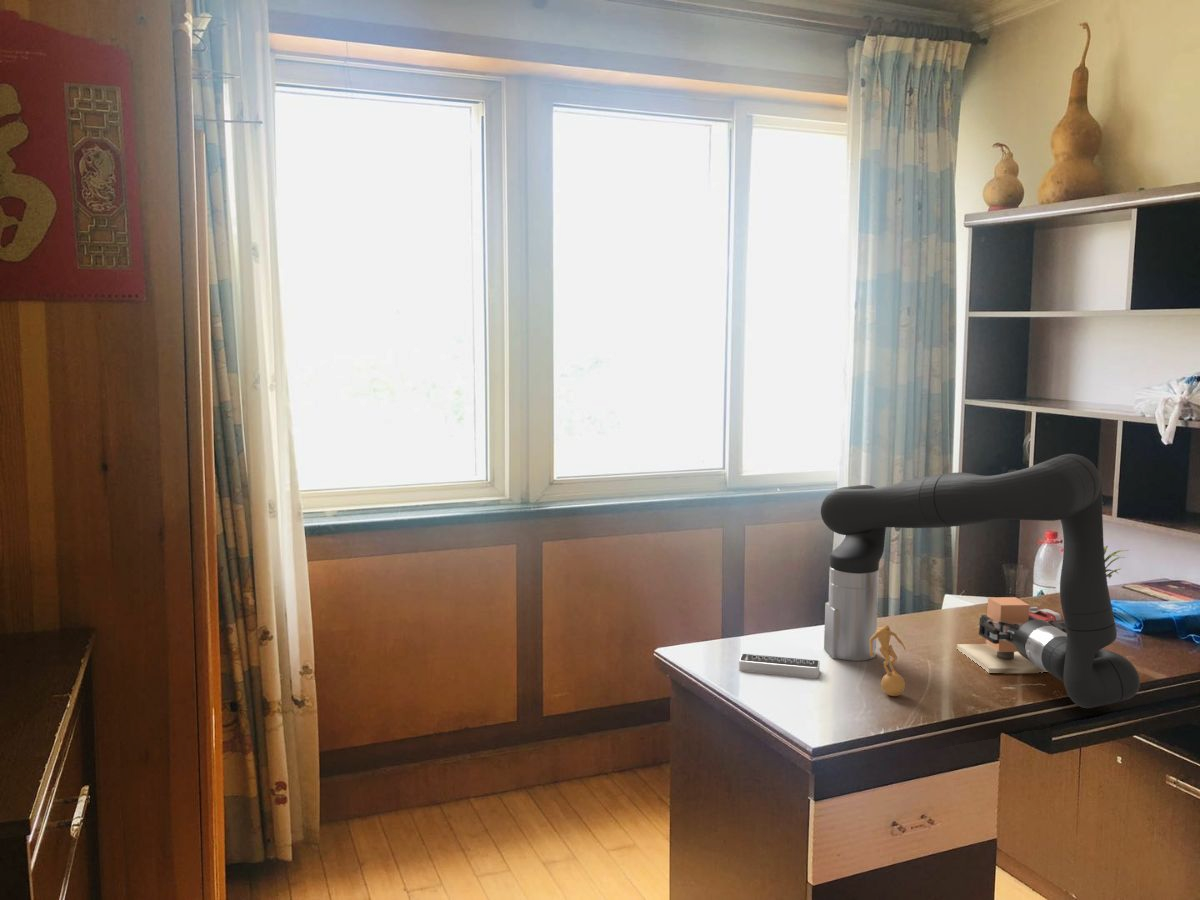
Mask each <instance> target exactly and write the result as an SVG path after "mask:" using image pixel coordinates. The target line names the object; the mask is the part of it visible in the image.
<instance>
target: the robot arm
mask: <svg viewBox="0 0 1200 900" xmlns="http://www.w3.org/2000/svg"><path fill="white" fill-rule="evenodd" d="M1102 486H1103V483H1102V479H1101V474H1100V472H1099V470H1098V469H1097V467H1096V465H1095V464H1094V463H1093V462H1092V461H1091V460H1089V459H1088V458H1087V457H1084V456H1083V455H1080V454H1076V453H1065V454H1062V455H1058V456H1055V457H1053V458H1050V459H1047V460H1045V461H1043V462H1040V463H1037V464H1035V465H1031V466H1029V467H1027V468H1022V469H1019V470H1013V471H1011V472H1010V471H1009V472H1006V473H1001V474H995V475H994V474H993V475H981V474H975V473H969V472H946V473H941V474H940V473H939V474H933V475H932V474H931V475H927V476H923V477H918V478H913V479H908V480H904V481H899V482H896V483H893V484H889V485H884V486H880V487H875V486H873V485H868V484H860V485H859V484H857V485H852V486H851V485H850V486H843V487H839V488H836V489H834V490H832V491H830V492H829V493H828V494H827V495H826V496H825V497H824V499H823V500H822V503H821V507H820V515H821V519H822V521H823V523H824V524H825V526H826V527H827V528H828V529H829V530H830V531H832V532H834V533H836V534H838V535H841V536H842V535H843V536H844V539H843V540H842V542H841V543H840V544H839V545H838V546H837V547H835V549H833V550H832V551H831V553H830V556H829V575H828V577H829V578H828V579H829V581H828V601H826V602H825V603H824V605H825V607H824V631H823V632H824V633H823V634H824V635H823V636H824V638H823V649H824V650H825V652H826V653H827V654H828V655H829V656H830V657H831V659H841V660H845V661H856V662H857V661H859V662H860V661H868V660H872V659H873V658H875V657H876V652H877V651H876V649H877V638H876V639H874V640H873V644H872V645H873V651H872V652H873V653H874V654H875V655H874V654H873V655H874V657H873V658H872V656H870V642H869V640H870V638H871V637H872V636H873V635H874V634H875V633H876V629H877V628H878V627H877V625H878V622H877V620H878V598H879V577H880V576H879V574H880V572H879V571H880V561H881V559H882V557H883V554H884V552H885V541H886V529H887V528H899V529H901V528H902V529H935V528H937V529H938V528H939V529H940V528H952V527H962V526H968V525H969V526H970V525H976V524H983V523H987V522H993V521H1000V520H1013V521H1014V520H1016V521H1017V520H1018V521H1019V520H1021V521H1024V520H1025V521H1040V522H1041V521H1043V522H1047V521H1048V522H1051V521H1052V522H1053V521H1054V522H1055V521H1060V523H1061V527H1062V533H1063V534H1062V535H1063V548H1064V549H1063V552H1062V553H1063V555H1062V565H1061V569H1060V577H1059V578H1060V581H1059V598H1060V606H1061V607H1060V608H1061V611H1062V617H1063V619H1064V622H1065V626H1066V628H1064V627H1063V626H1061V625H1060V624H1058V623H1057V622H1055V621H1053V620H1049V621H1048V622H1046V621H1044V620H1042V619H1036V618H1034V617H1032V616H1031V615H1029V621H1028V622H1026V623H1024V624H1023V623H1013V622H1009V621H1004V620H1003V621H1000V622H998V621H993V620H992V619H991V618H989V617H988V616H987V614H982V615H981V616H980V617H979V628H978V629H979V630H978V635H979V636H981V637H982V638H984V639H985V640H986V639H987V640H989V641H990V642H992V643H994V644H998V643H999V639H1000V640H1004V641H1008V642H1011V643H1013V644H1014V645H1015V647H1016V648H1017V650H1018V652H1019V653H1020V654H1021V655H1022V656H1023V657H1024V658H1026V659H1027V660H1029V661H1030V662H1032V663H1033V664H1035V665H1036V666H1038V667H1039V668H1041V669H1042V670H1044V671H1046V672H1049V673H1048V674H1051V675H1052V676H1053V677H1055V678H1056V679H1058V680H1059V681H1061V682H1063V684H1064V686H1063V687H1064V688H1065V692H1066V694H1067V696H1068V697H1069V698H1070V700H1071V701H1072V702H1073V703H1074V704H1075V705H1076V706H1079V707H1081V708H1084V709H1092V708H1097V707H1101V706H1106V705H1110V704H1115V703H1118V702H1123V701H1127V700H1130V699H1132V698H1134V697H1135V696H1136V695H1137V694H1138V692H1139V690H1140V687H1141V678H1140V675H1139V674H1140V673H1138V670H1137V669H1136V667H1135V666H1134V665H1133V663H1132V662H1131V661H1130V660H1129V659H1127V658H1126V657H1125V656H1123V655H1121V654H1120V653H1116V652H1115V651H1113V650H1112V651H1110V650H1108V649H1104V648H1106V647H1108V646H1110V645H1111V644H1113V643H1114V642H1115V641H1116V639H1117V636H1118V634H1117V628H1116V627H1117V625H1116V623H1115V622H1116V621H1115V616H1114V611H1113V606H1112V602H1111V601H1112V600H1111V596H1110V591H1109V585H1108V580H1107V578H1108V577H1106V575H1107V572H1106V570H1107V568H1106V569H1105V567H1106V562H1105V559H1106V558H1105V555H1104V547H1105V546H1104V545H1105V544H1104V523H1103V487H1102ZM994 625H996V626H998V628H996V627H994ZM1005 625H1006V626H1009V628H1008V629H1007V630H1006V633H1005Z"/></svg>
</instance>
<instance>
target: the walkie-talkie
mask: <svg viewBox="0 0 1200 900" xmlns="http://www.w3.org/2000/svg"><path fill="white" fill-rule="evenodd" d="M1029 615H1031V616H1032V617H1034V618H1036V619H1042V620H1044V621H1046V622H1048V621H1049V620H1053V621H1055V622H1057V623H1058V624H1060V625H1061V626H1063V627H1064V628H1066V626H1065V622H1064V617H1063V614H1061V613H1060V612H1057V611H1054V610H1052V609H1049V608H1043V609H1038V607H1037V606H1032V607H1030V606H1029Z"/></svg>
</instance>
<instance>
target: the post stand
mask: <svg viewBox="0 0 1200 900" xmlns="http://www.w3.org/2000/svg"><path fill="white" fill-rule="evenodd" d="M957 649H958V650H957ZM956 650H957V651H959V652H960V653H961V652H962V653H961V654H962V655H964V654H965V655H966V656H967V657H966V656H965V655H964V656H965V657H966V658H968V657H969V658H970V659H971V660H970V659H969V658H968V659H969V660H970V661H972V660H973V661H974V662H975V663H977V664H978V665H979V666H981V667H982V668H983V669H985V670H986V671H987V672H988V673H1004V674H1044V673H1043V672H1046V671H1044V670H1042V669H1041V668H1039V667H1038V666H1036V665H1035V664H1033V663H1032V662H1030V661H1029V660H1027V659H1026V658H1024V657H1023V656H1022V655H1021V654H1020V653H1019V652H998V651H997V650H995V649H994V648H992V647H991V646H990V645H988V644H987V643H962V644H961V643H959V644H958V643H957V644H956ZM973 661H972V662H973ZM974 662H973V663H974ZM977 664H976V665H977ZM978 665H977V666H978ZM979 666H978V667H979ZM981 667H980V668H981ZM982 668H981V669H982ZM983 669H982V670H983ZM986 671H985V672H986ZM987 672H986V673H987ZM1039 672H1041V673H1039ZM988 673H987V674H988Z"/></svg>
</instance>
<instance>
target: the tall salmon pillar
mask: <svg viewBox="0 0 1200 900" xmlns="http://www.w3.org/2000/svg"><path fill="white" fill-rule="evenodd" d="M1029 607H1030V604H1028V603H1027V602H1025V601H1023V600H1021V599H1019V598H1018V597H1016V596H1015V597H1014V596H1013V597H1011V596H1009V597H1008V596H1005V597H1003V596H1001V597H995V596H993V597H992V596H991V597H987V608H986V609H987V611H986V612H987V613H986V616H988V617H989V618H991V619H992V620H993V621H998V622H1000V621H1003V620H1004V621H1009V622H1013V623H1023V624H1024V623H1026V622H1028V621H1029ZM994 627H996V628H998V626H996V625H994ZM1008 628H1009V626H1006V625H1005V633H1006V630H1007V629H1008ZM985 644H988V645H990V646H991V647H992V648H994V649H995V650H997V651H998V652H1018V650H1017V648H1016V647H1015V645H1014V644H1013V643H1011V642H1008V641H1004V640H1000V639H999V643H998V644H994V643H992V642H990V641H989V640H987V639H986V638H985Z"/></svg>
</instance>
